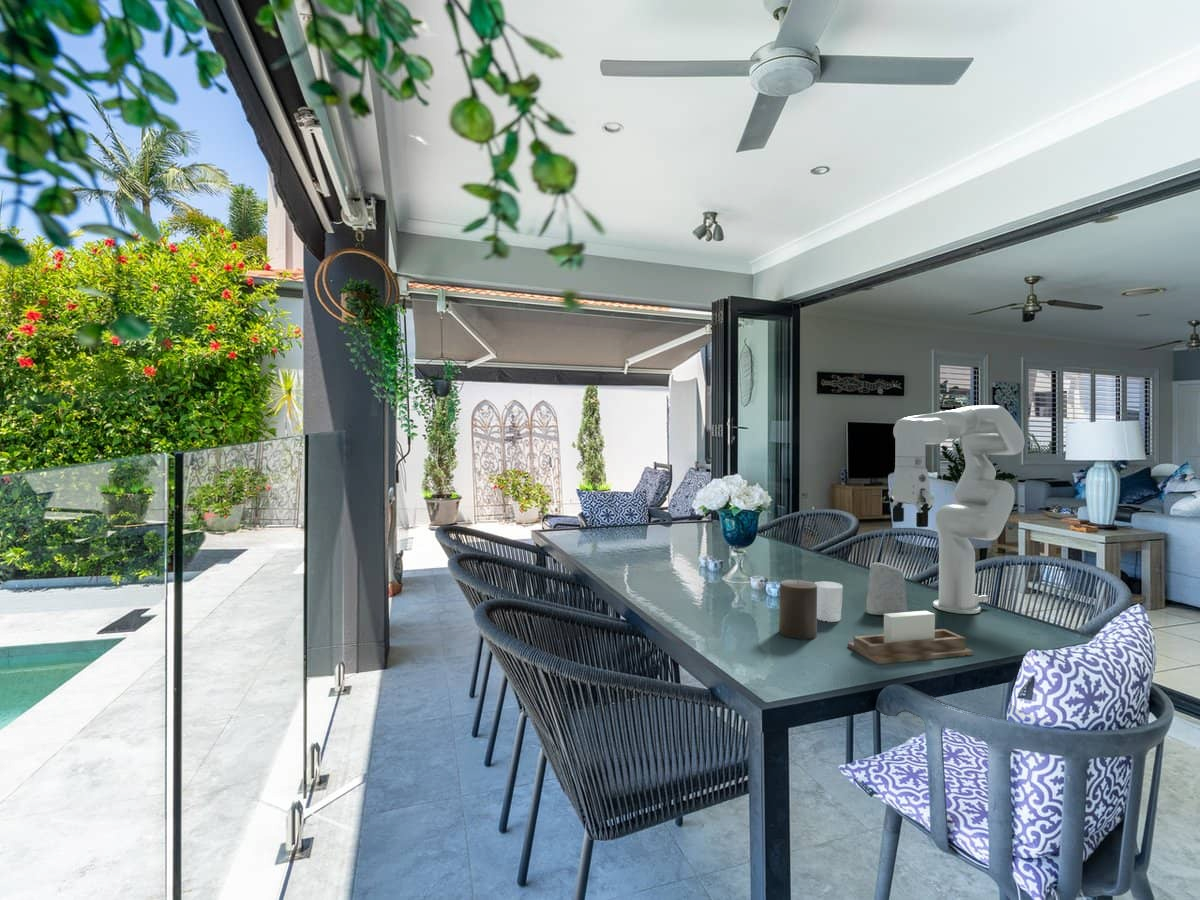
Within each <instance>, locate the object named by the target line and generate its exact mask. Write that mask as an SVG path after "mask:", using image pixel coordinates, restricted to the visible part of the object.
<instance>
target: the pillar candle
mask: <svg viewBox="0 0 1200 900" xmlns="http://www.w3.org/2000/svg"><path fill="white" fill-rule="evenodd" d="M778 619H779V624H778V625H779V626H778V631H779V634H780V635H782V636H784V637H786V638H790V639H794V640H801V639H805V640H810V639H815V638H817V637H818V636H817V635H818V633H817V632H818V630H817V629H818V619H817V584H815V582H812V581H808V580H803V579H802V580H801V579H784V580H782V581H780V582H779V618H778Z"/></svg>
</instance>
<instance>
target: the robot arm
mask: <svg viewBox="0 0 1200 900" xmlns="http://www.w3.org/2000/svg"><path fill="white" fill-rule="evenodd" d="M892 431H893V432H892V433H893V437H894V439H895V447H894V448H895V451H894V452H895V454H894V455H895V459H894V460H895V462H894V465H895V466H894V467H895V468H894V472H893V479H892V480H893V481H892V488H891V489H890V490H889V491H888V492H887V494H888V498H889V502H890V505H891V508H892V522H893V523H901V522H902V523H903V522H904V521H905V507H903V506H904V504H907V505H914V506H915V508H916V510H917V512H916V517H915V519H916V523H915V524H916V527H917V528H927V527H929V513H930V512H931V509H932V507H933V503H934V501H935V497H934V496H933V495H932V494H931V485H930V484H931V483H930V476H929V471H928V468H926V449H927V448H926V447H927V445H939V444H942V443H945V441H946V440H953V439H959V438H961V446H962V447H961V449H962V452H963V457H964V462H965V466H964V467H965V468H964V470H963V473H962V475H961V477H960V478H959V481H958V482H957V485H956V487H955V489H954V492H953V494H952V495H953V496H952V499H953V501H954V503H955V504H945V505H943V506H940V508H938V510H937V511H936V512H935V513H936V514H935V525H936V530H937V536H938V550H939V551H938V599H935V600H933V602H932V606H933V607H934V608H935V609H936V610H940V611H943V612H948V613H952V614H960V615H961V614H962V615H974V614H975V615H976V614H979V613H980V612H981V610H982V609H981V606H980V605H979V603H984V602H988V601H989V596H988V595H986V594H983V595H978V594H976V551H975V548H974V546H973V544H972V543H971V541H970V539H973V540H974V539H975V540H982V541H995V540H997V539H998V538H999V537H1000V535H1001V534H1002V531H1003V529H1004V528H1005V526H1006V523H1007V521H1008V519H1009V517H1010V514H1011V512H1012V510H1013V508H1014V505H1015V498H1016V497H1015V496H1016V495H1015V493H1016V492H1015V489H1014V487H1013V486H1012V484H1011V483H1009V482H1008V481H1005V480H1001V479H1000V480H999V479H995V478H996V475H997V470H996V469H995V468H996V467H994V465H993V463H992V462H991V461H990V460H989V459H988V458H987V456H986V455H996V456H997V455H998V456H1014V455H1018V454H1019V453H1021V452H1022V451H1023V449H1024V448H1025V442H1026V441H1025V435H1024V433H1023V431H1022V429H1021V428H1020V426H1019V424H1018V423H1017V421H1016V420H1015V419H1014V417H1013V415H1012V414H1011V413H1010V412H1009V411H1008V410H1007V409H1006V408H1005V407H1003V406H1001V405H996V404H995V405H994V404H993V405H992V404H991V405H968V406H964V407H963V406H962V407H959V408H955V409H950V410H944V411H943V410H942V411H936V412H933V413H925V414H918V415H911V416H907V417H903V418H900V419H898V420H897V421H896V422H895V424H894V426H893V430H892Z"/></svg>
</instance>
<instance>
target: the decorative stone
mask: <svg viewBox="0 0 1200 900" xmlns="http://www.w3.org/2000/svg"><path fill="white" fill-rule="evenodd" d="M867 583H868V585H867V592H866V593H867V595H866V613H867V614H870V615H874V616H884V614H888V613H901V612H908V605H907V591H906V590H907V589H906V588H907V587H906V580H905V576H904V572H903V570H902V569H900V568H897V567H894V566H892V565H889V564H886V563H882V562H872V563H871V564H870V567H869V575H868V582H867Z"/></svg>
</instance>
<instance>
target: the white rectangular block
mask: <svg viewBox="0 0 1200 900" xmlns="http://www.w3.org/2000/svg"><path fill="white" fill-rule="evenodd" d="M935 630H936V614H935V613H933V612H930V611H929V610H916V611H907V612H901V613H888V614H884V615H883V634H884V643H891V642H902V641H913V640H925V639H935Z"/></svg>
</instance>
